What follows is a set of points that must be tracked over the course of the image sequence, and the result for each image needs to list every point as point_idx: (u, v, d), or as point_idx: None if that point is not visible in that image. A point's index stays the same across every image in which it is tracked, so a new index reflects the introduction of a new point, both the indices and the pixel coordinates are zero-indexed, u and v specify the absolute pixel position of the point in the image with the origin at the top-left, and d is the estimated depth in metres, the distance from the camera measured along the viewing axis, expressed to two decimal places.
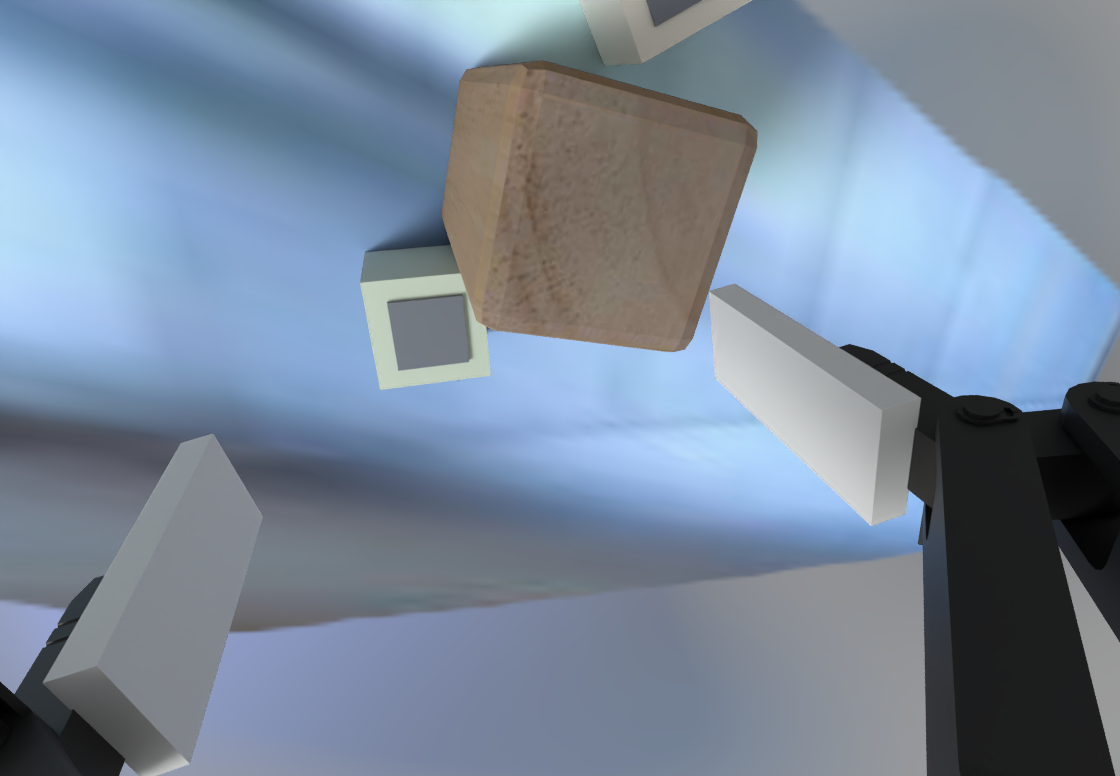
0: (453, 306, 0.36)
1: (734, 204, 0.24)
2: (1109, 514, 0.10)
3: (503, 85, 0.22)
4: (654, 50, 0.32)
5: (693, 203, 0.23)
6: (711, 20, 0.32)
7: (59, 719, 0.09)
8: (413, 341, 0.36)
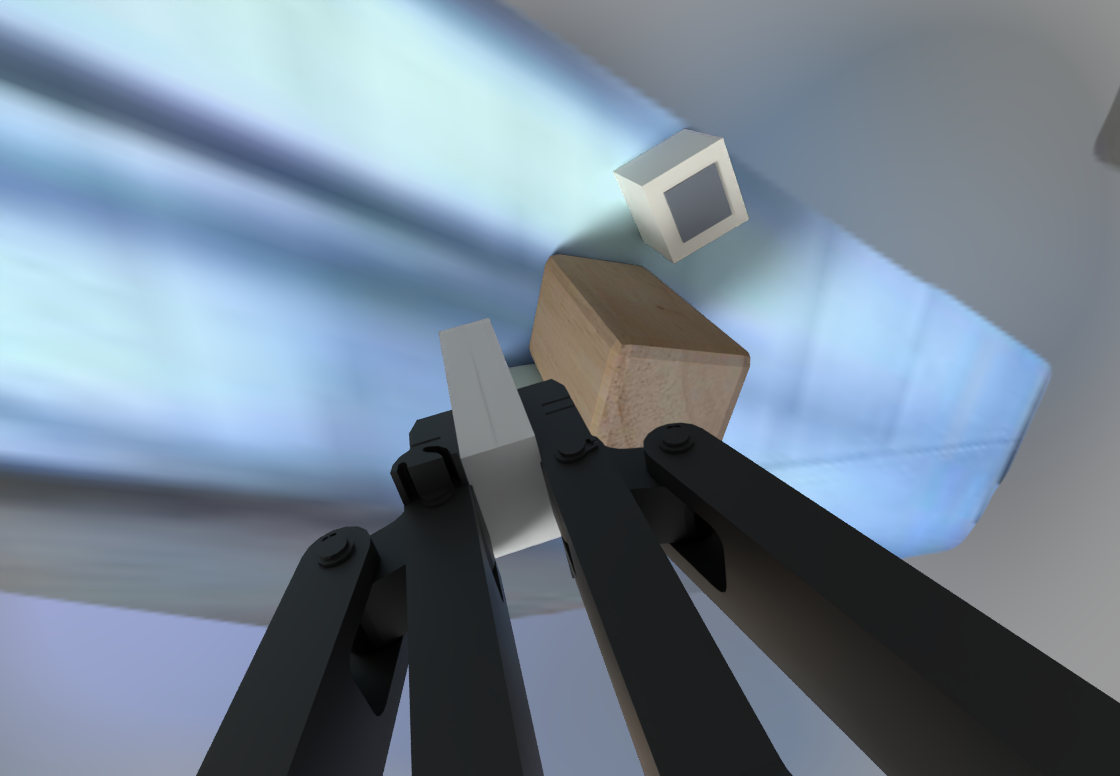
0: None
1: (737, 395, 0.40)
2: (707, 531, 0.11)
3: (604, 341, 0.38)
4: (682, 255, 0.48)
5: (712, 398, 0.39)
6: (720, 234, 0.48)
7: None
8: None
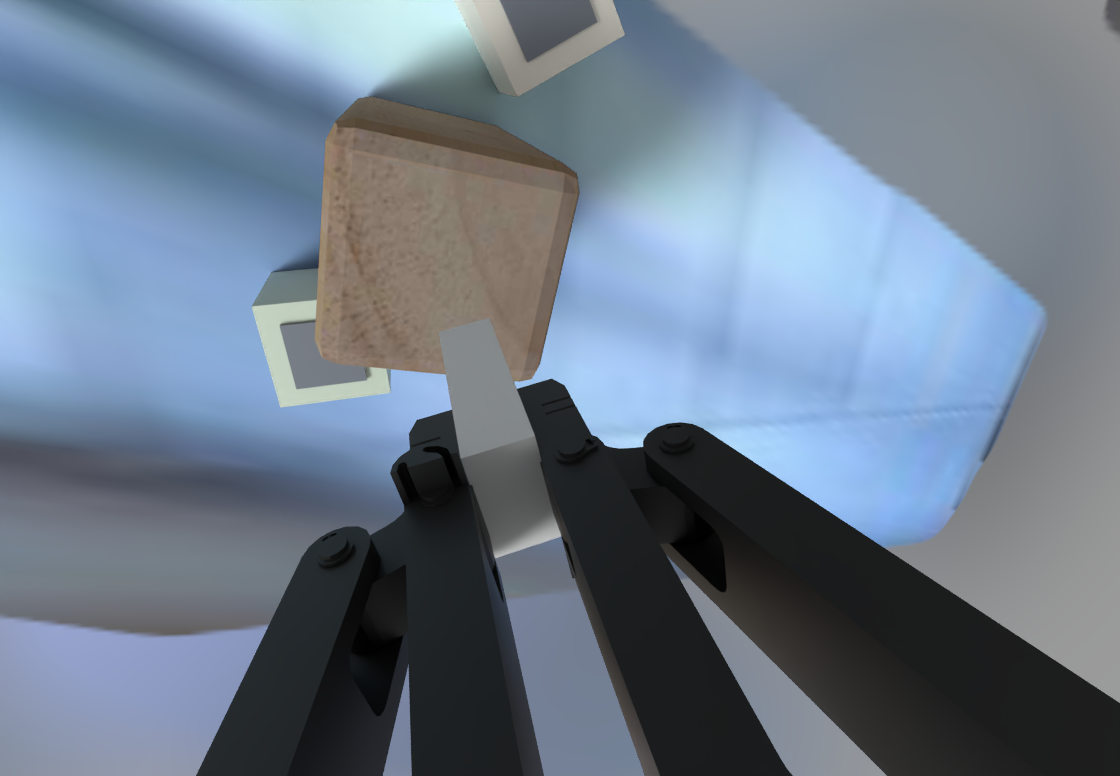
0: None
1: (562, 246, 0.25)
2: (707, 531, 0.11)
3: None
4: (528, 84, 0.34)
5: (518, 246, 0.24)
6: (583, 55, 0.34)
7: None
8: (309, 361, 0.38)
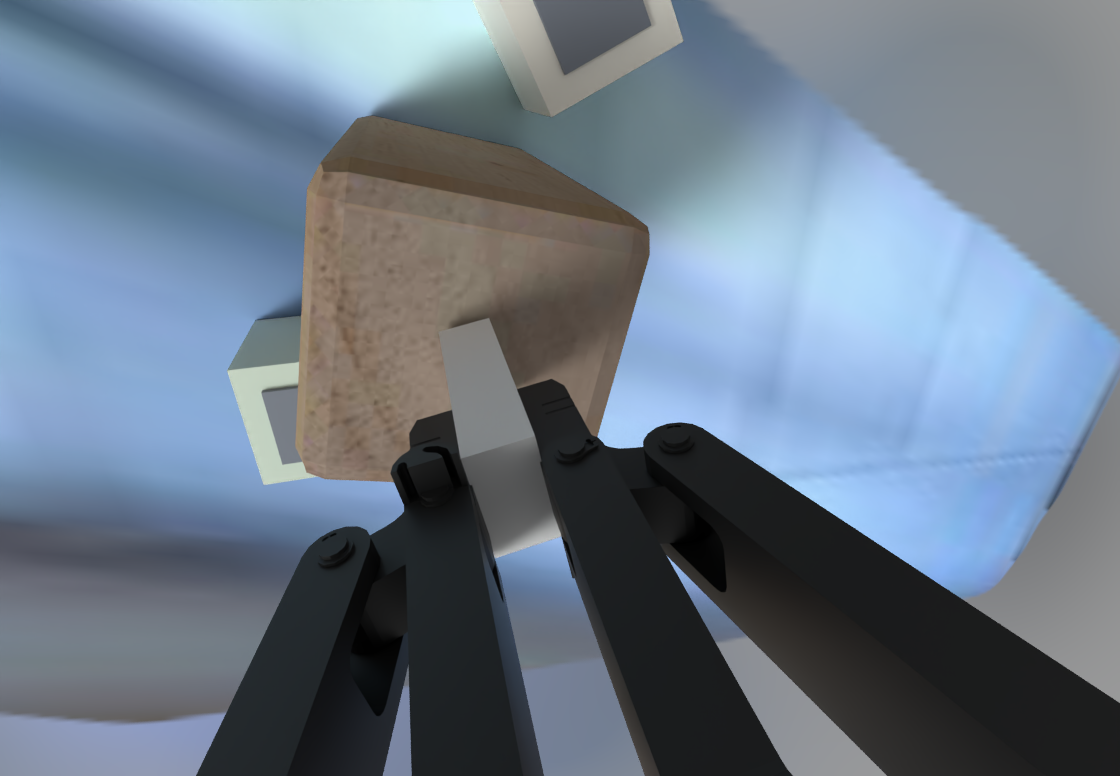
0: None
1: (626, 321, 0.19)
2: (707, 531, 0.11)
3: None
4: (565, 102, 0.27)
5: (569, 325, 0.18)
6: (633, 66, 0.27)
7: None
8: None
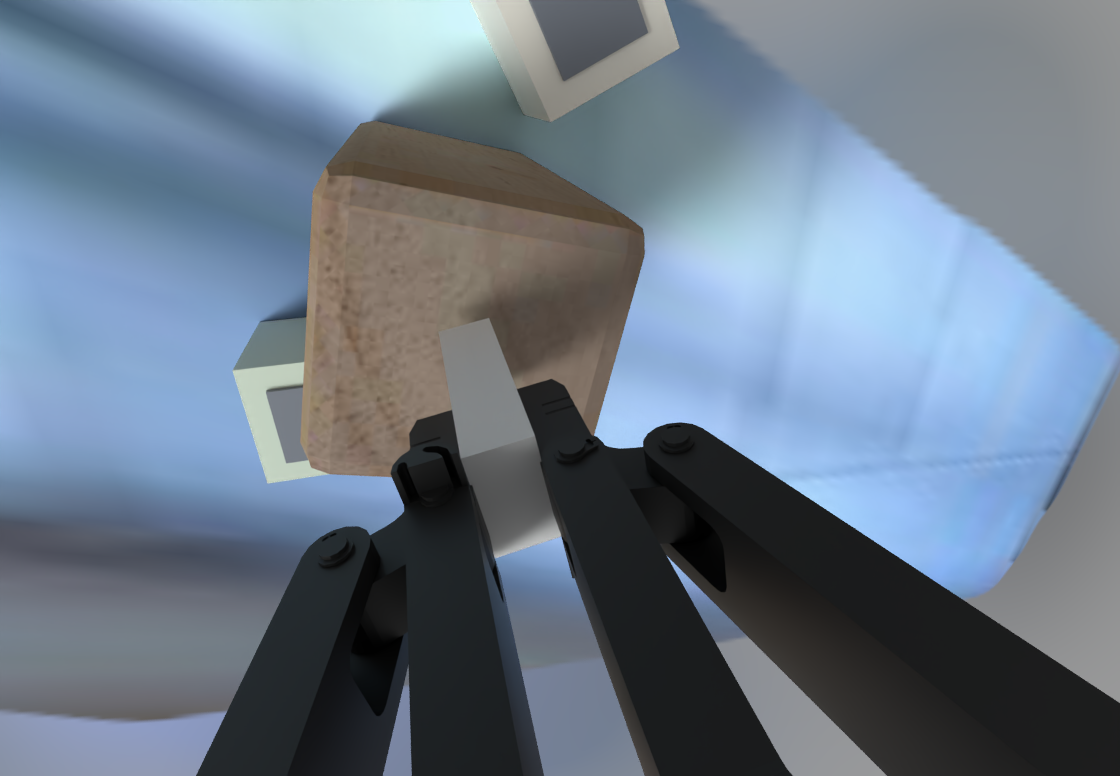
0: None
1: (621, 320, 0.19)
2: (707, 531, 0.11)
3: None
4: (564, 107, 0.28)
5: (566, 323, 0.19)
6: (630, 72, 0.28)
7: None
8: None
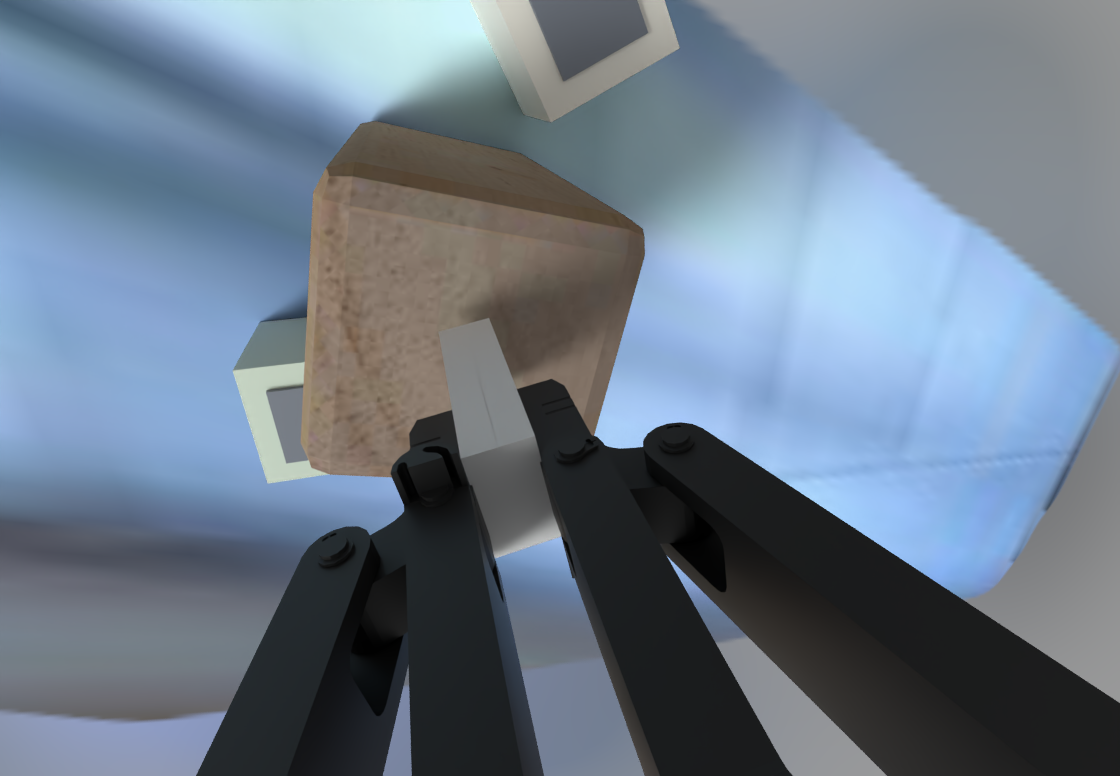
0: None
1: (622, 321, 0.19)
2: (707, 531, 0.11)
3: None
4: (564, 107, 0.28)
5: (566, 324, 0.19)
6: (630, 72, 0.28)
7: None
8: None
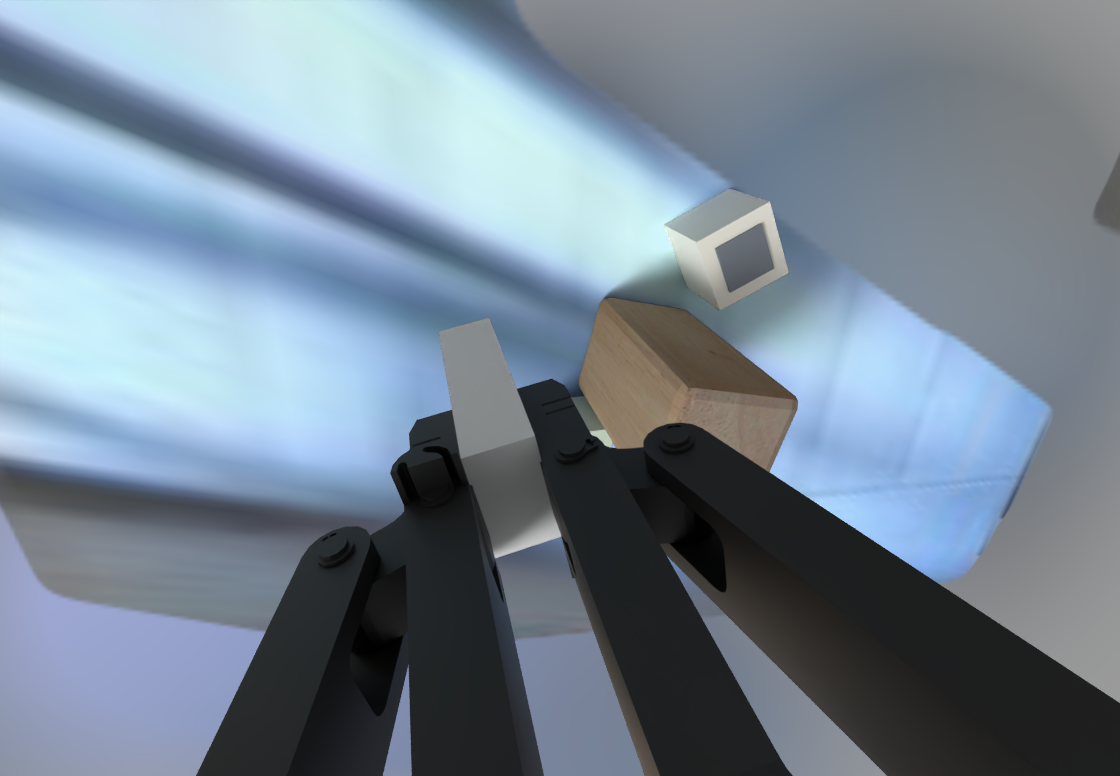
0: None
1: (784, 434, 0.44)
2: (707, 531, 0.11)
3: (669, 384, 0.42)
4: (727, 303, 0.53)
5: (763, 437, 0.44)
6: (762, 285, 0.53)
7: None
8: None
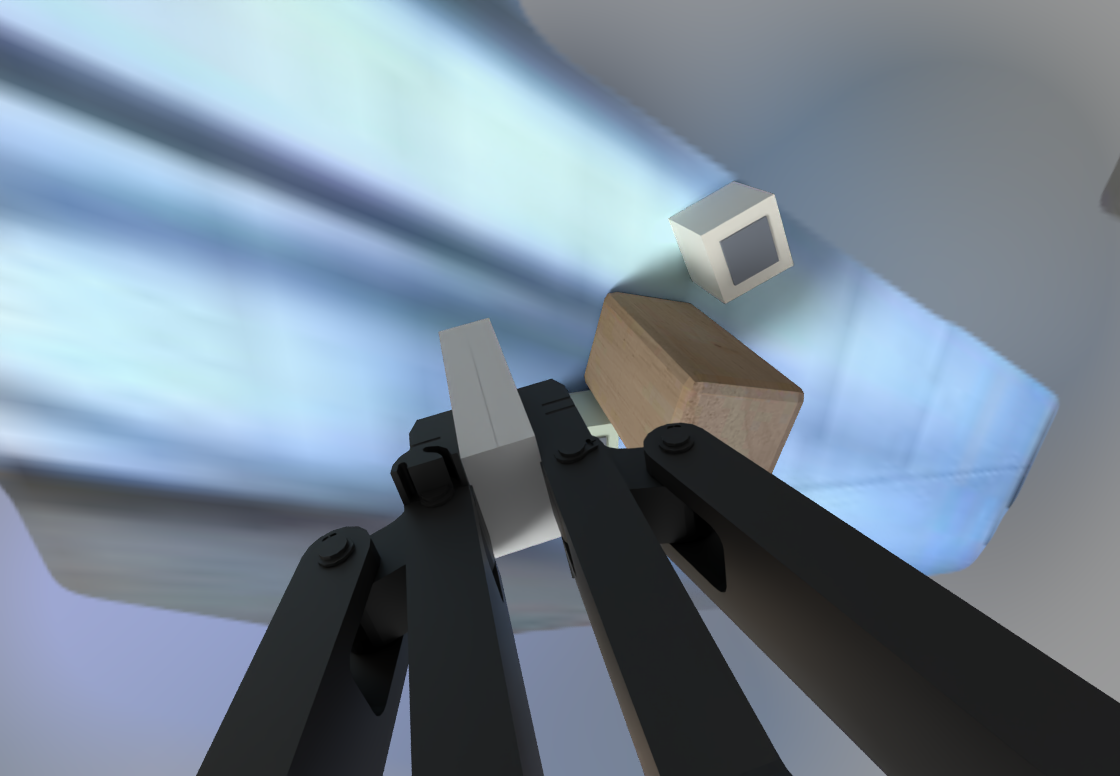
0: None
1: (790, 427, 0.45)
2: (707, 531, 0.11)
3: (675, 378, 0.42)
4: (732, 296, 0.53)
5: (769, 430, 0.44)
6: (767, 278, 0.53)
7: None
8: None
